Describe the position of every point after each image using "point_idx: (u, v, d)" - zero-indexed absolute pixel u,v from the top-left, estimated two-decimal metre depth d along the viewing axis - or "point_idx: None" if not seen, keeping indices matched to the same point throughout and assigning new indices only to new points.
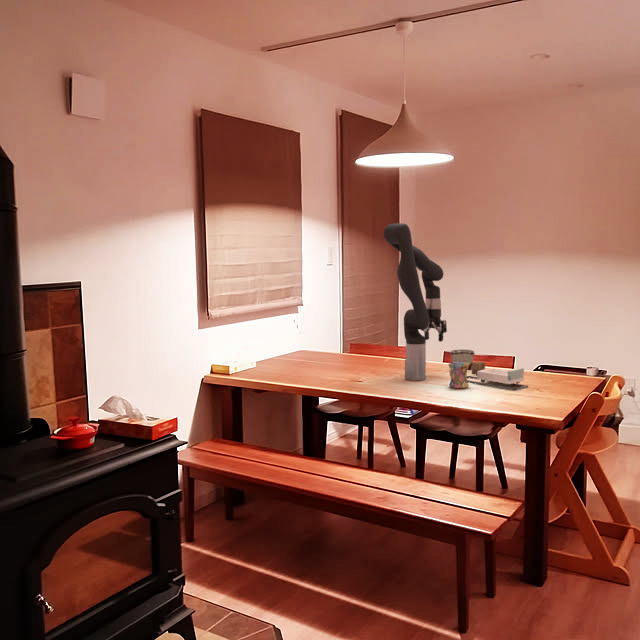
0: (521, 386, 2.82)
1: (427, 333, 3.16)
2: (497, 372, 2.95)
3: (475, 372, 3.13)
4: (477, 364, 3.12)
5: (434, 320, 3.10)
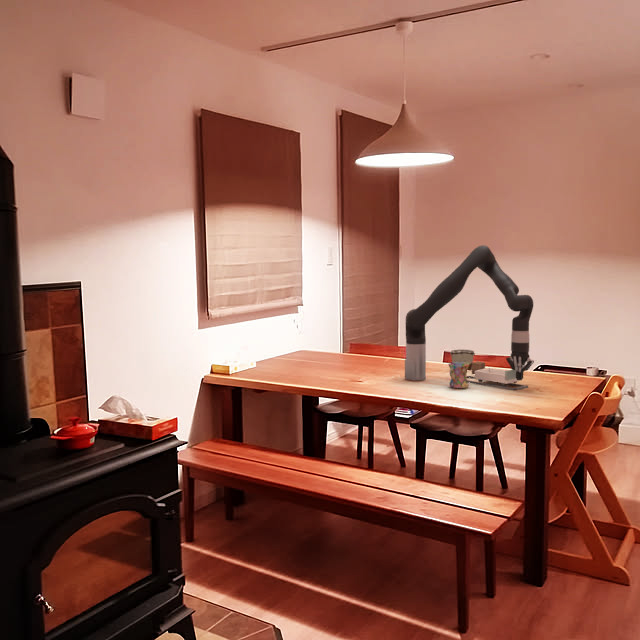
0: (521, 386, 2.82)
1: None
2: (495, 372, 2.96)
3: None
4: (477, 364, 3.12)
5: (521, 355, 2.78)
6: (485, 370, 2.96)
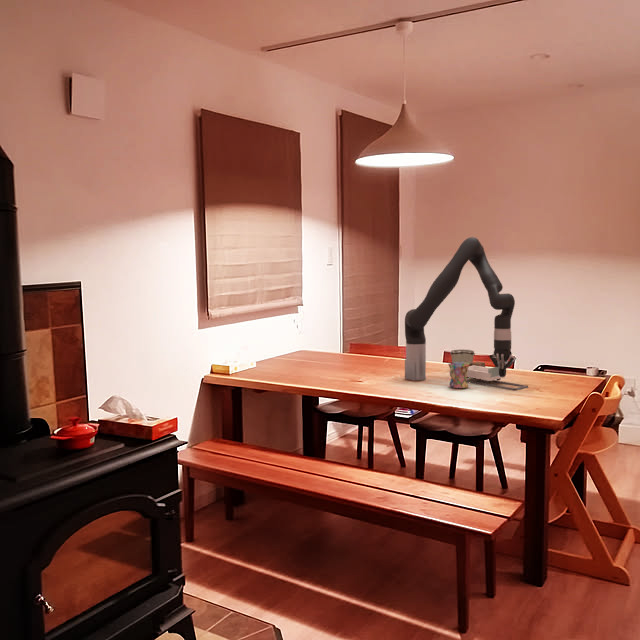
0: (521, 386, 2.82)
1: None
2: (479, 369, 3.02)
3: None
4: (477, 364, 3.12)
5: (504, 352, 2.84)
6: (470, 368, 3.03)
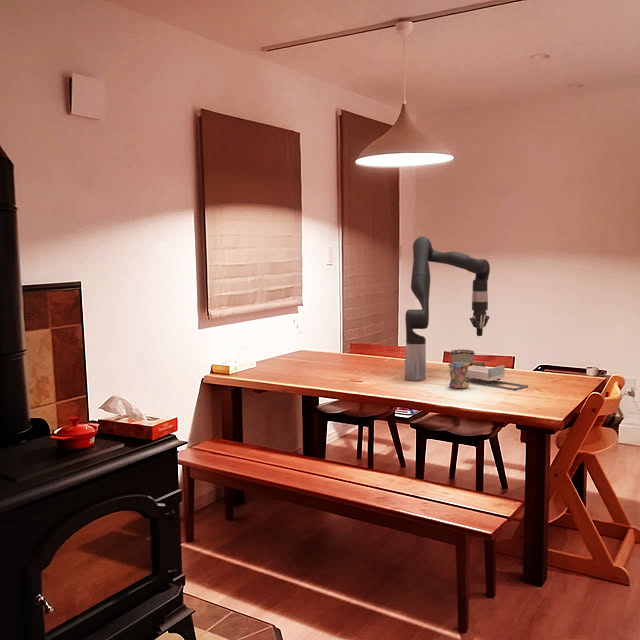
0: (521, 386, 2.82)
1: None
2: (479, 369, 3.02)
3: None
4: (477, 364, 3.12)
5: None
6: (470, 368, 3.03)
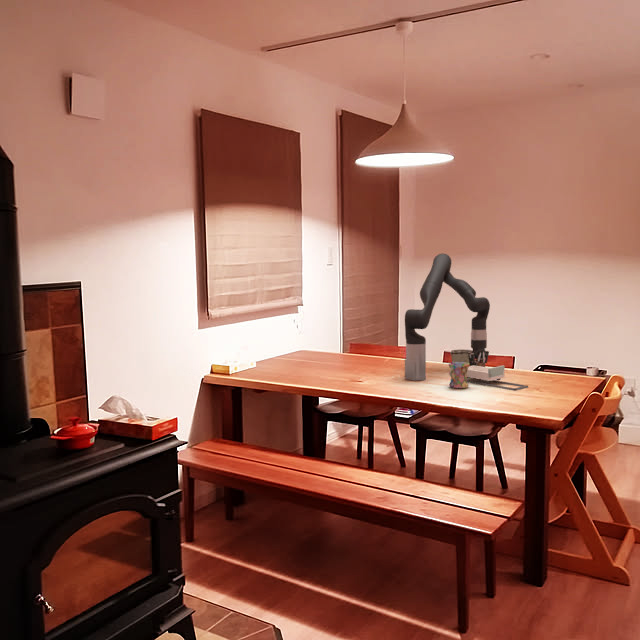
0: (521, 386, 2.82)
1: None
2: (479, 369, 3.02)
3: None
4: None
5: None
6: (470, 368, 3.03)
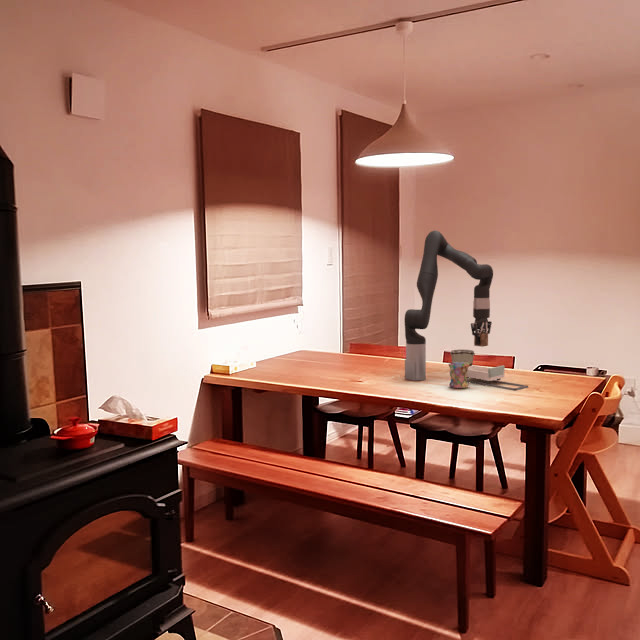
0: (521, 386, 2.82)
1: None
2: (479, 369, 3.02)
3: None
4: None
5: None
6: (470, 368, 3.03)
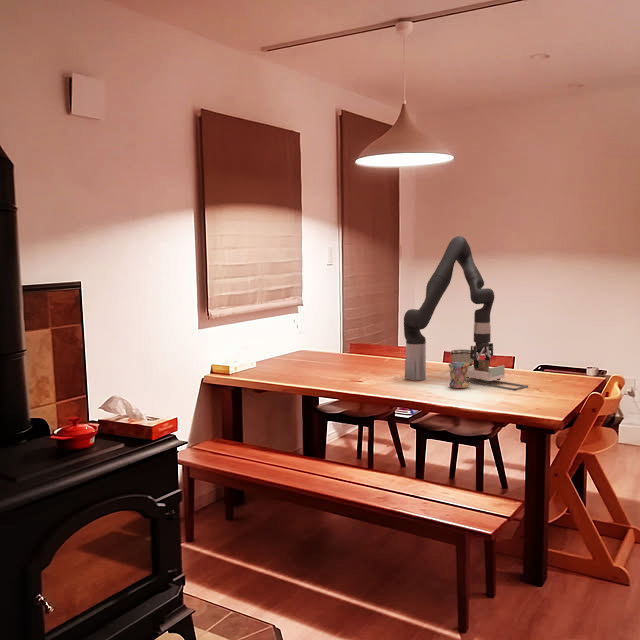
0: (521, 386, 2.82)
1: (486, 359, 2.98)
2: None
3: None
4: (480, 362, 2.93)
5: None
6: (470, 368, 3.03)
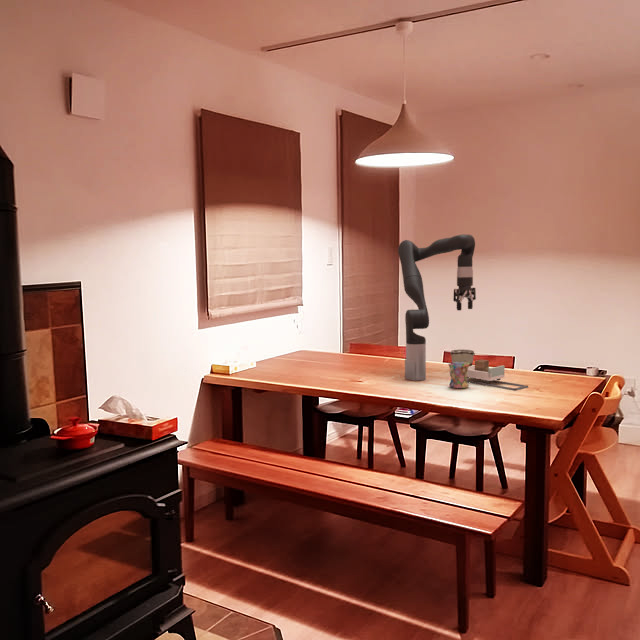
0: (521, 386, 2.82)
1: (469, 302, 3.13)
2: None
3: None
4: (480, 362, 2.93)
5: None
6: (470, 368, 3.03)
